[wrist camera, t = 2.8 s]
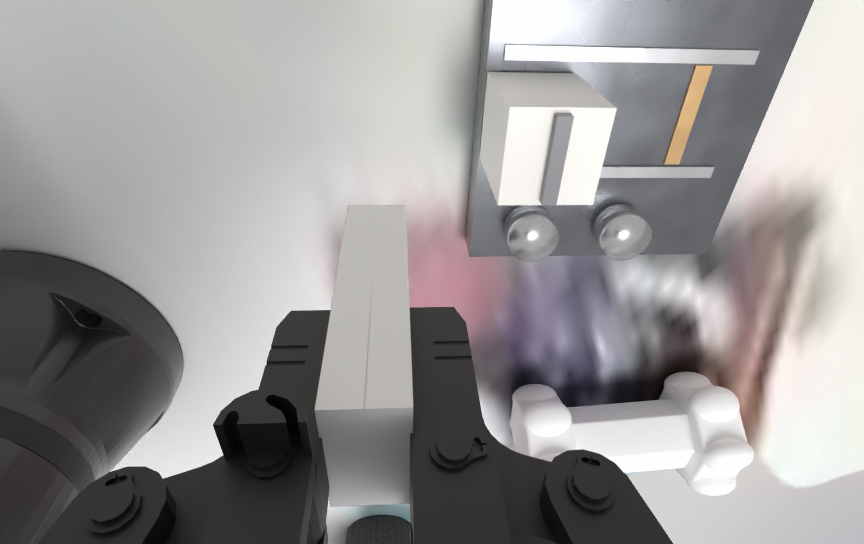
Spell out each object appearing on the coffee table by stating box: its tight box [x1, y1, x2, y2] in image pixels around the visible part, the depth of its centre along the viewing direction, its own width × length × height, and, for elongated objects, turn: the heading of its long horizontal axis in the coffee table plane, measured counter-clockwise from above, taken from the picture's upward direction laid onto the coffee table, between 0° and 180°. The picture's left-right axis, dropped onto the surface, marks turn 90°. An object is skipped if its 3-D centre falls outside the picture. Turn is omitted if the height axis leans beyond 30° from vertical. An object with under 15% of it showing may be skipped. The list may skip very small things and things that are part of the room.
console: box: [465, 0, 814, 262], centre depth 24 cm, size 14×16×4 cm
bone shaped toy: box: [509, 372, 754, 496], centre depth 36 cm, size 15×9×8 cm, turn 92°
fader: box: [480, 72, 617, 205], centre depth 21 cm, size 4×4×5 cm
